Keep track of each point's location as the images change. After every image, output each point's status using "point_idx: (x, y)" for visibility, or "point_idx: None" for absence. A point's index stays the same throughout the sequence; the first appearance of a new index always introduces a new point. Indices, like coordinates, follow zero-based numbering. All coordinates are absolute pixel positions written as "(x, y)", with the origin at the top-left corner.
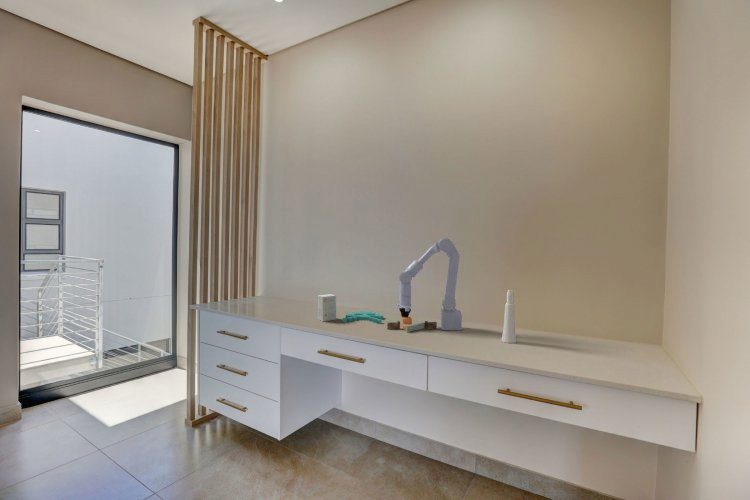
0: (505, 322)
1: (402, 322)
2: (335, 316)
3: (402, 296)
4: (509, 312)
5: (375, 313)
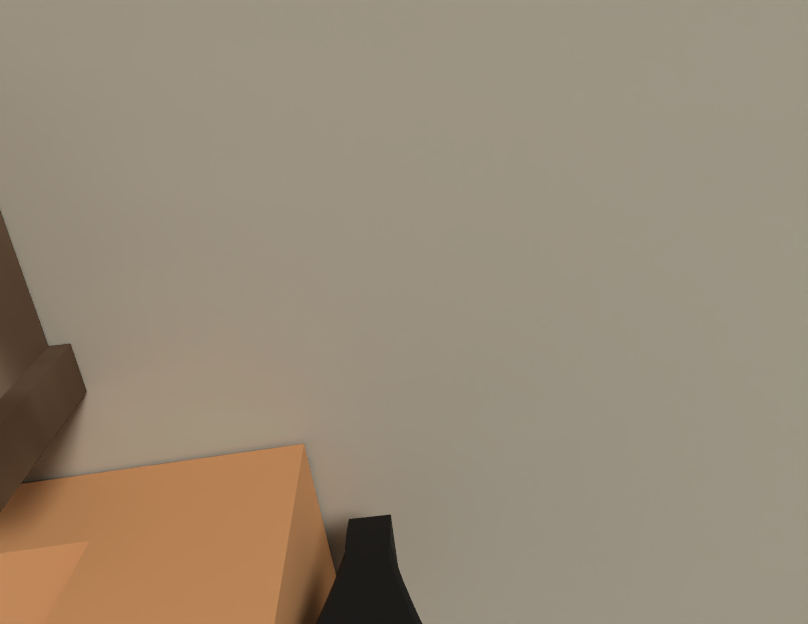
0: None
1: (158, 546)
2: None
3: None
4: None
5: None
